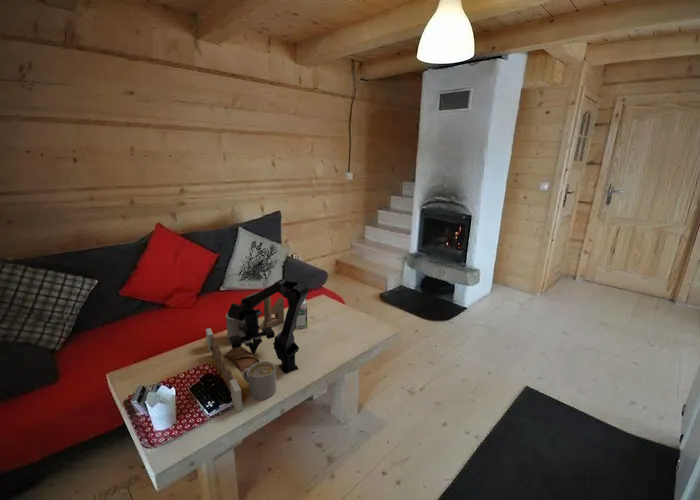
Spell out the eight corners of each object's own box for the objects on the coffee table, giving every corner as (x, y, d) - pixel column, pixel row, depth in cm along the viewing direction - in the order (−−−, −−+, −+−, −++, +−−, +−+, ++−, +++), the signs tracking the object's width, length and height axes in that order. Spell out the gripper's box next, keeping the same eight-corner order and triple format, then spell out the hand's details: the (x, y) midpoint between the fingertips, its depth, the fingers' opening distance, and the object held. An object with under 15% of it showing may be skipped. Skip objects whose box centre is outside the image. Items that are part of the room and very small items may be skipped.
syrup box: (296, 329, 179) (296, 303, 175) (295, 323, 184) (294, 298, 180) (307, 328, 180) (307, 302, 176) (305, 322, 186) (305, 297, 182)
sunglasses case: (221, 355, 155) (227, 341, 156) (234, 356, 160) (240, 343, 161) (243, 373, 143) (249, 358, 144) (256, 374, 149) (262, 359, 149)
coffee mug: (281, 388, 135) (280, 366, 132) (262, 403, 127) (261, 380, 124) (257, 376, 142) (256, 355, 139) (237, 389, 134) (236, 367, 131)
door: (234, 395, 130) (232, 375, 127) (228, 397, 129) (226, 377, 126) (214, 353, 156) (213, 336, 153) (209, 354, 155) (208, 337, 152)
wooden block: (284, 322, 185) (283, 291, 180) (266, 329, 178) (265, 297, 172) (280, 320, 187) (279, 289, 182) (263, 327, 180) (261, 295, 175)
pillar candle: (247, 332, 174) (245, 305, 170) (249, 342, 165) (247, 314, 161) (227, 336, 171) (224, 308, 166) (228, 346, 162) (225, 317, 158)
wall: (242, 410, 123) (240, 388, 121) (236, 413, 122) (235, 390, 120) (211, 345, 162) (210, 327, 160) (207, 346, 161) (205, 328, 159)
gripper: (266, 310, 161) (267, 339, 165) (224, 319, 151) (227, 350, 156) (274, 320, 152) (275, 351, 156) (231, 331, 142) (233, 363, 147)
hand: (253, 353), depth 154 cm, fingers closed
